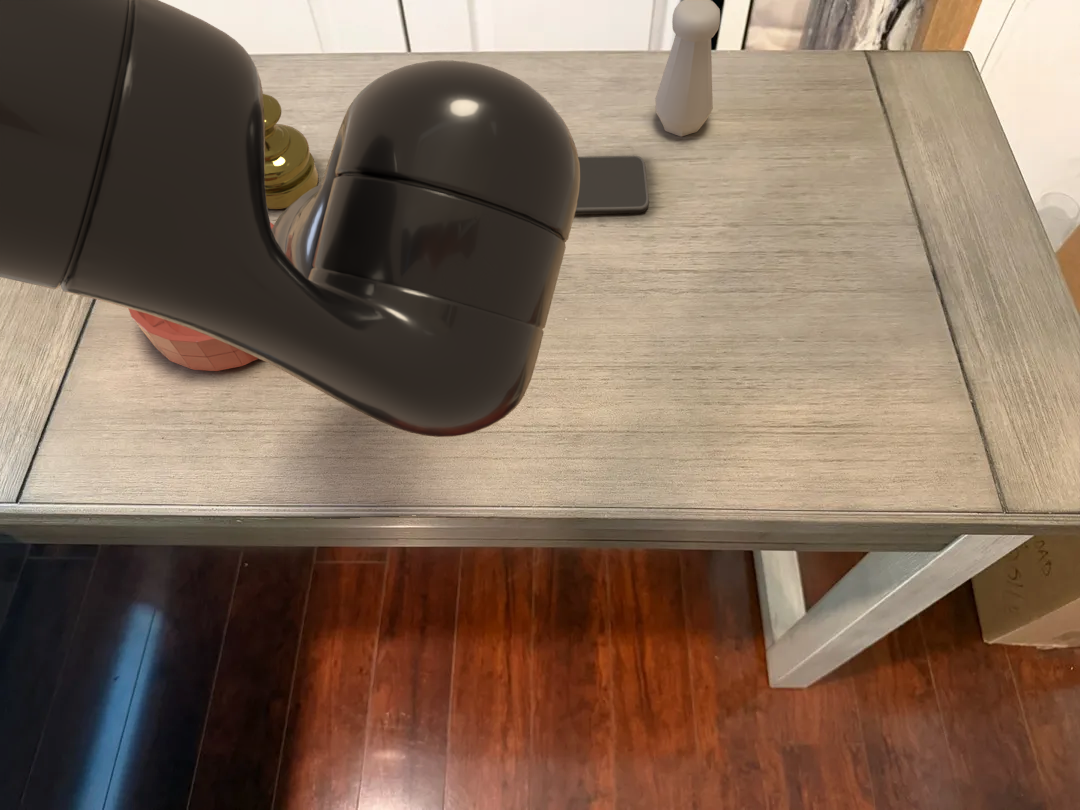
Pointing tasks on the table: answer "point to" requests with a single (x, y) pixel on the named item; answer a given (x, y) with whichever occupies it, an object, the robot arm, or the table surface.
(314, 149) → the table surface
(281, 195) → the brass weight
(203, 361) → the bowl
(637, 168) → the smartphone
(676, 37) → the salt shaker
